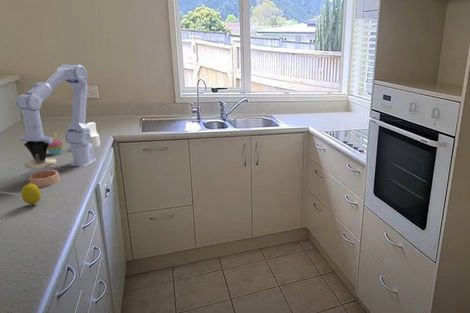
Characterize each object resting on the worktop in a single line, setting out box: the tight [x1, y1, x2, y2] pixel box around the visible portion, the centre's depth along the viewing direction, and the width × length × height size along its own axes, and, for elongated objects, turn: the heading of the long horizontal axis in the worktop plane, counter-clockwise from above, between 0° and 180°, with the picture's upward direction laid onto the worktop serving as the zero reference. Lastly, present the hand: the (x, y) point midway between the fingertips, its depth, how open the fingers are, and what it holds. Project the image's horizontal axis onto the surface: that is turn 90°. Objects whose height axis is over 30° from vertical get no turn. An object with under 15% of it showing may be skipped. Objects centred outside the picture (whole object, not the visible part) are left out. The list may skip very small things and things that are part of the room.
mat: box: [20, 166, 64, 177], centre depth 144 cm, size 12×12×1 cm
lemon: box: [21, 182, 42, 206], centre depth 114 cm, size 6×6×8 cm
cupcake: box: [47, 129, 64, 156], centre depth 167 cm, size 9×8×12 cm
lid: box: [24, 154, 58, 170], centre depth 133 cm, size 11×11×4 cm
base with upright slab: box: [85, 121, 101, 149], centre depth 180 cm, size 9×9×12 cm
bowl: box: [28, 170, 60, 188], centre depth 133 cm, size 10×10×4 cm
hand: (40, 159), depth 133 cm, fingers closed on lid, 2 cm apart
